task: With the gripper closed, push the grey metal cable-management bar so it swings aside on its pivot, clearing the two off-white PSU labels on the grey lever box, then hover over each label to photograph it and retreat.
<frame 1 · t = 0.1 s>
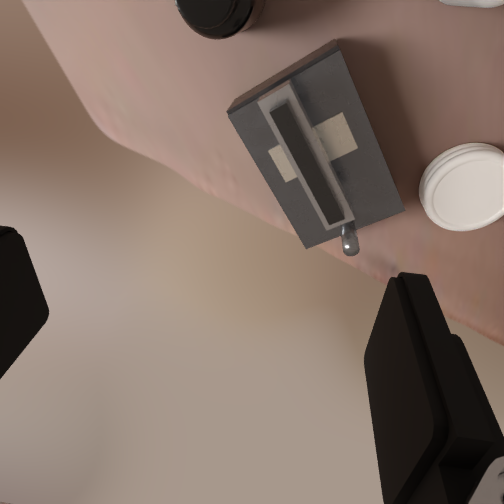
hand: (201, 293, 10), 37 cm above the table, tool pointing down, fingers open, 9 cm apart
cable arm: (309, 163, 34), point 11 cm above the table, hinge at 0.0°
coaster: (461, 181, 45), on the table
grey lever box: (319, 145, 44), on the table
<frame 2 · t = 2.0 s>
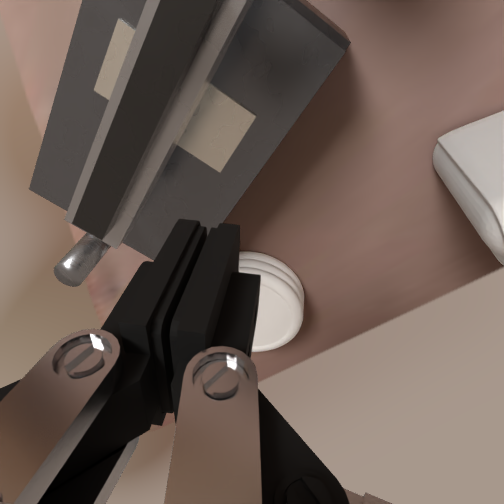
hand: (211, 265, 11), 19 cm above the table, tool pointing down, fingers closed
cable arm: (144, 121, 16), point 11 cm above the table, hinge at 0.0°
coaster: (252, 289, 36), on the table
grey lever box: (189, 105, 27), on the table
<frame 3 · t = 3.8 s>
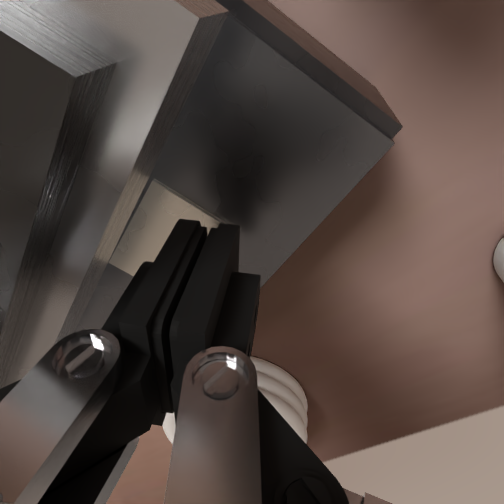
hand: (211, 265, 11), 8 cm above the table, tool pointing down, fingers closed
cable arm: (2, 293, 8), point 11 cm above the table, hinge at 1.5°, touching gripper
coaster: (240, 392, 28), on the table
grey lever box: (146, 179, 19), on the table
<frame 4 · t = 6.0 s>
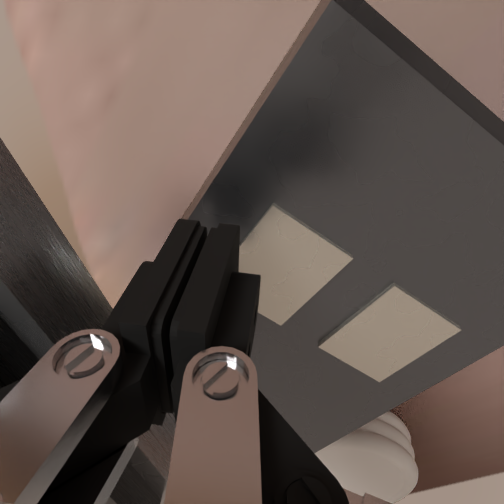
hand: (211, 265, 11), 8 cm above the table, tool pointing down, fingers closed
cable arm: (41, 365, 9), point 11 cm above the table, hinge at 50.2°, touching gripper
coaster: (340, 430, 29), on the table
grey lever box: (302, 247, 20), on the table
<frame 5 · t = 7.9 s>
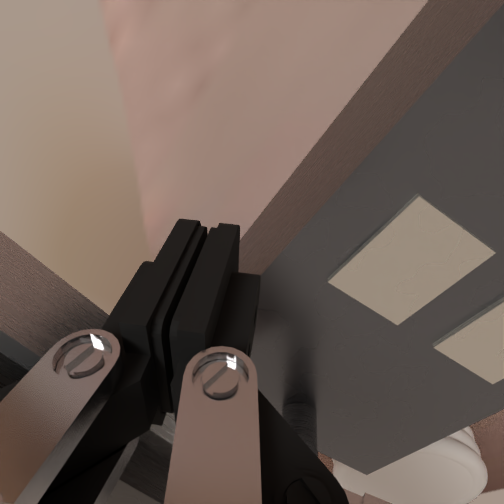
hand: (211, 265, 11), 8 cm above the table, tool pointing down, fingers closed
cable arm: (83, 402, 10), point 11 cm above the table, hinge at 73.5°, touching gripper
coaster: (397, 433, 28), on the table
grey lever box: (386, 244, 19), on the table
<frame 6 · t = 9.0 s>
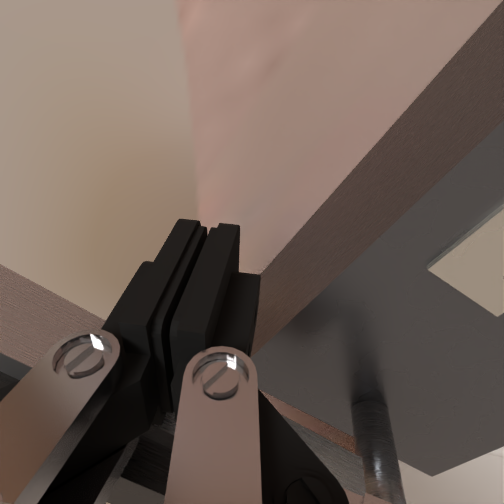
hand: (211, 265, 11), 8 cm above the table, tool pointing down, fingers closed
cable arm: (138, 431, 10), point 11 cm above the table, hinge at 87.6°, touching gripper
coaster: (444, 433, 27), on the table
grey lever box: (456, 233, 18), on the table
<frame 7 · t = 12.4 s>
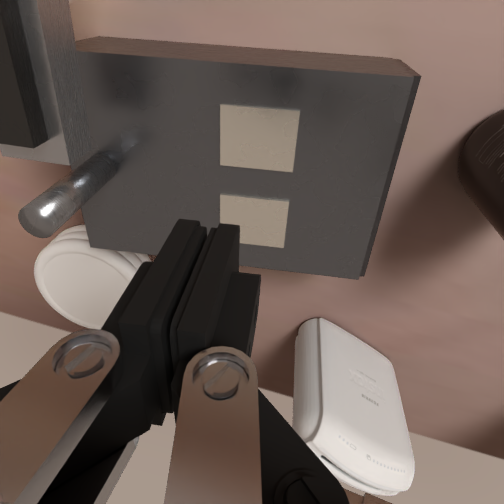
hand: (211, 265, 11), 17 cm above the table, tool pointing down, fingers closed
photo printer: (344, 345, 37), on the table
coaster: (107, 267, 35), on the table
grey lever box: (237, 143, 26), on the table
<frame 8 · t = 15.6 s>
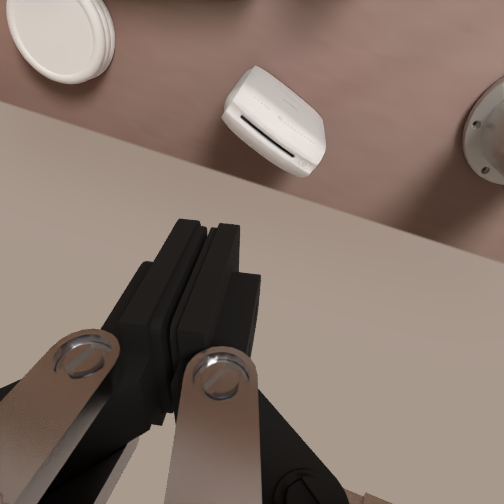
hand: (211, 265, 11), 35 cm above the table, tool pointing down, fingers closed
photo printer: (280, 104, 42), on the table
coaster: (72, 28, 40), on the table
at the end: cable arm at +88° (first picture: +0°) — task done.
